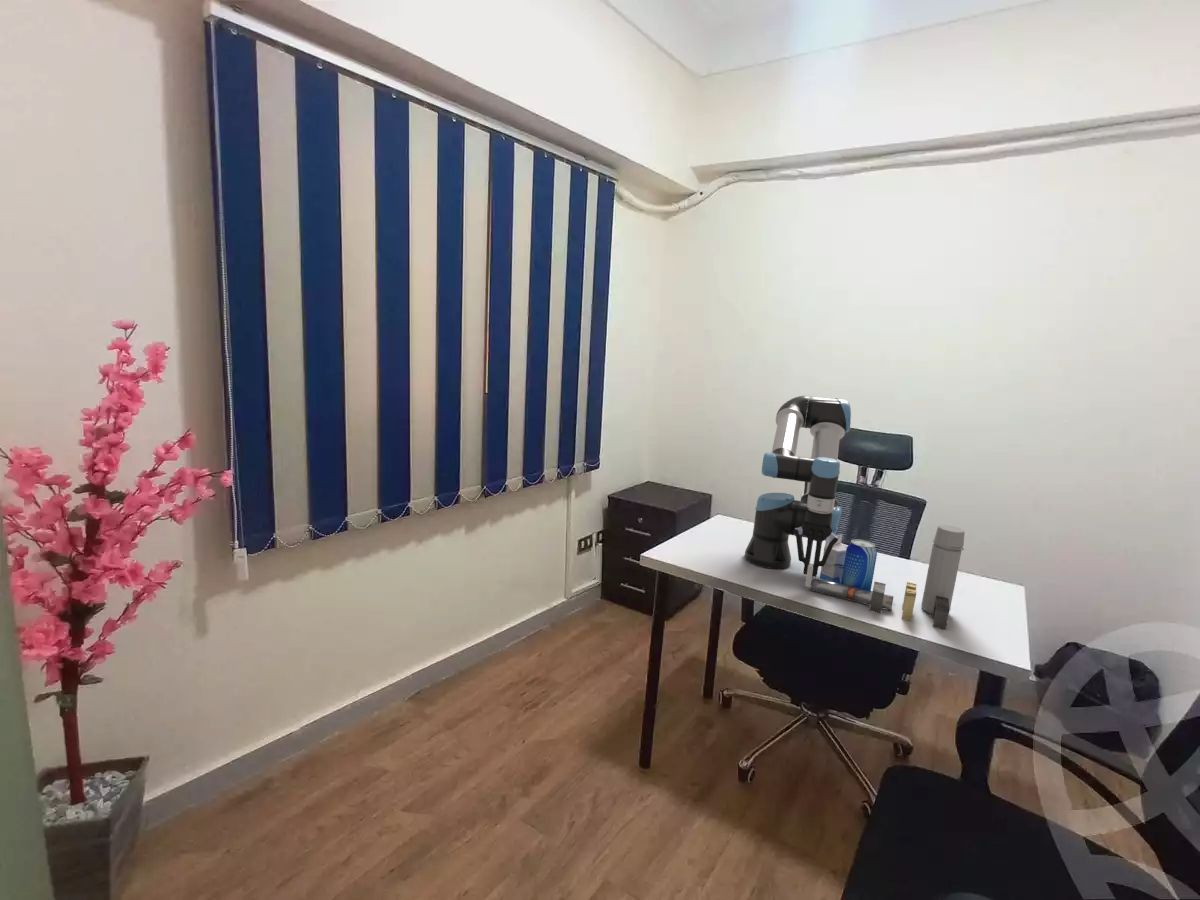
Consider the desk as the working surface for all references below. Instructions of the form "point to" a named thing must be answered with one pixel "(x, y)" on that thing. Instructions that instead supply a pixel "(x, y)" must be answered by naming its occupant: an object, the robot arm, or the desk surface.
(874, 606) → the collar
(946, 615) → the collar
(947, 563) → the water bottle
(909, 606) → the aperture bridge
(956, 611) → the desk surface
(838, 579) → the ink box
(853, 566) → the beer can
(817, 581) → the tube
